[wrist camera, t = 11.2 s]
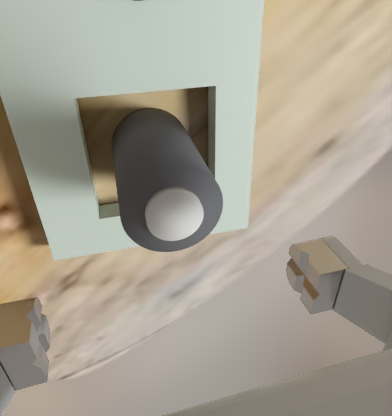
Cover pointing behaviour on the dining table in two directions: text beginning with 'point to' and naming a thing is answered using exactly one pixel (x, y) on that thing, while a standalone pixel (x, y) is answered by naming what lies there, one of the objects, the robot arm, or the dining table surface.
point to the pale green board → (124, 84)
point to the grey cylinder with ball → (163, 183)
